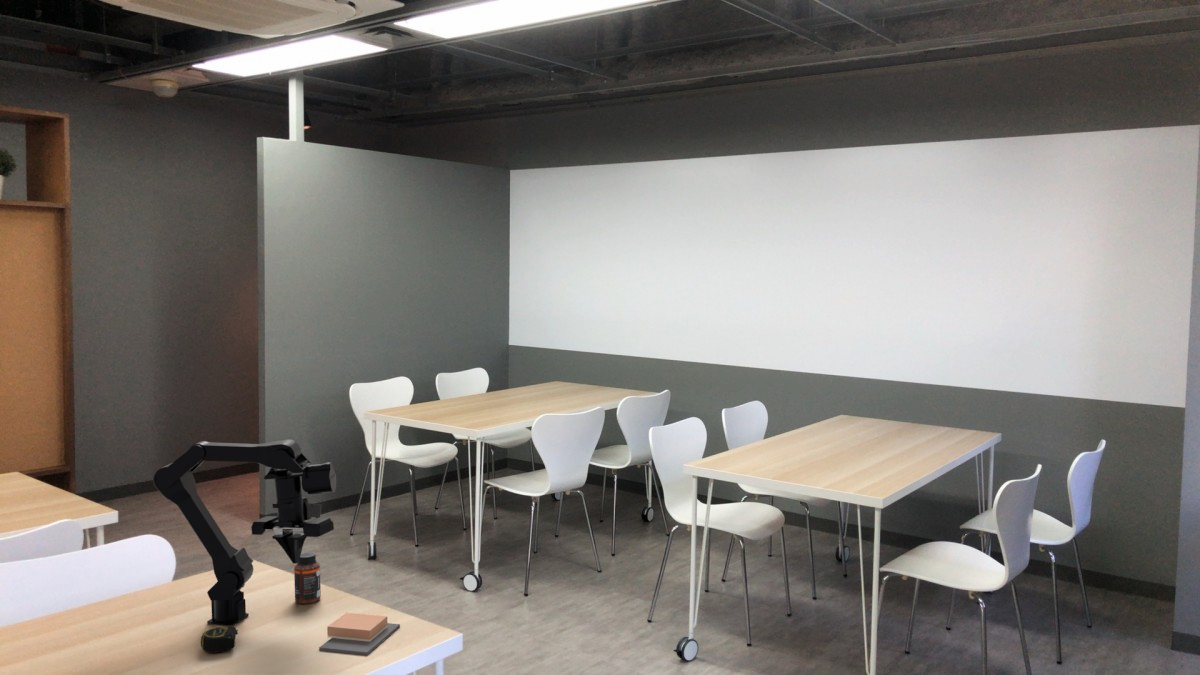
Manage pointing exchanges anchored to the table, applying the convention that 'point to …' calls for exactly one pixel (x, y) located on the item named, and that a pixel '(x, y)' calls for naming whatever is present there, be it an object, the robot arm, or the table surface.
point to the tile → (357, 627)
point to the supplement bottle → (307, 579)
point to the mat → (358, 643)
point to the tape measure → (218, 639)
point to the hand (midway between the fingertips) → (295, 562)
